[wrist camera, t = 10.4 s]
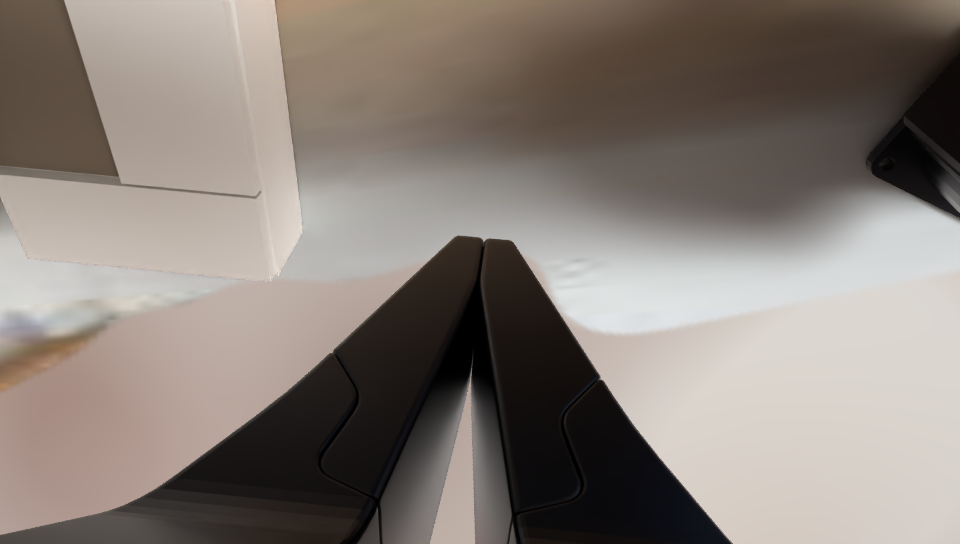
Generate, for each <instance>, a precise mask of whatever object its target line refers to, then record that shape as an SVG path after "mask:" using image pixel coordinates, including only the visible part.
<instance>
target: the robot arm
mask: <svg viewBox="0 0 960 544" xmlns="http://www.w3.org/2000/svg"><path fill="white" fill-rule="evenodd" d="M886 158H890V160H889V162H888V163H887V164H885V165H883V166H879V164H880V163H881V161H883V160H884V159H886ZM866 165H867V168H868V169H869V170H870V172H871V173H872V174H873V175H875V176H876V177H878V178H880V179H882V180H884V181H886V182H888V183H890V184H892V185H894V186H896V187H898V188H900V189H902V190H904V191H906V192H908V193H910V194H912V195H914V196H916V197H918V198H920V199H922V200H924V201H926V202H929V203H931V204H933V205H935V206H937V207H939V208H941V209H943V210H945V211H947V212H949V213H951V214H953V215H955V216H957V217H959V218H960V54H959V55H958V56H957V57H956V58H955V59H954V60H953V61H952V62H951V64H950V65H949V66H948V67H947V68H946V69H945V70H944V71H943V72H942V73H941V74H940V76H939V77H938V78H937V79H936V80H935V81H934V82H933V83H932V84H931V85H930V87H929V88H928V89H927V90H926V91H925V92H924V93H923V94H922V95H921V96H920V98H919V99H918V100H917V101H916V102H915V103H914V104H913V105H912V106H911V107H910V109H909V110H908V111H907V112H906V113H905V115H904V117H903V118H902V119H901V120H900V121H899V122H898V124H897V125H896V126H895V127H894V128H893V129H892V130H891V131H890V132H889V133H888V135H887V136H886V137H885V138H884V139H883V140H882V141H881V142H880V143H879V144H878V145H877V147H876V148H875V149H874V150H873V151H872V152H871V153H870V155H869V156H868V158H867V161H866ZM472 360H473V361H472ZM471 368H472V376H471V415H472V446H473V480H474V514H475V544H733V543H732V542H731V541H730V540H729V539H728V538H727V537H726V536H725V535H724V533H723V532H722V531H721V530H720V529H719V528H718V527H717V525H716V524H715V523H714V522H713V521H712V519H711V518H710V517H709V516H708V515H707V513H706V512H705V511H704V510H703V509H702V507H701V506H700V505H699V504H698V503H697V502H696V500H695V499H694V498H693V497H692V496H691V494H690V493H689V492H688V491H687V490H686V489H685V487H684V486H683V485H682V484H681V483H680V482H679V480H678V479H677V478H676V477H675V476H674V474H673V473H672V472H671V471H670V470H669V469H668V467H667V466H666V465H665V464H664V462H663V461H662V460H661V459H660V458H659V457H658V455H657V454H656V453H655V451H654V450H653V449H652V448H651V446H650V445H649V444H648V443H647V442H646V440H645V439H644V438H643V437H642V435H641V434H640V433H639V431H638V430H637V429H636V428H635V426H634V425H633V424H632V422H631V421H630V420H629V418H628V416H627V415H626V414H625V412H624V411H623V409H622V408H621V406H620V405H619V404H618V402H617V401H616V399H615V398H614V396H613V395H612V393H611V392H610V390H609V389H608V387H607V385H606V384H605V382H604V381H603V380H601V377H600V375H599V373H598V372H597V370H596V369H595V367H594V366H593V364H592V363H591V361H590V360H589V358H588V357H587V355H586V353H585V352H584V350H583V349H582V347H581V346H580V344H579V343H578V341H577V340H576V338H575V337H574V335H573V333H572V332H571V330H570V329H569V327H568V326H567V325H566V323H565V321H564V320H563V318H562V317H561V315H560V314H559V312H558V310H557V309H556V307H555V306H554V304H553V303H552V301H551V300H550V298H549V297H548V295H547V294H546V292H545V290H544V289H543V287H542V286H541V284H540V283H539V281H538V280H537V278H536V277H535V275H534V274H533V272H532V270H531V269H530V267H529V266H528V264H527V263H526V261H525V260H524V259H523V257H522V255H521V254H520V252H519V251H518V249H517V247H516V246H515V244H514V243H513V242H512V241H510V240H500V239H486V240H485V242H484V241H483V240H482V239H481V238H479V237H468V236H456V237H454V238H453V239H452V240H451V241H450V242H449V243H448V244H447V245H446V246H445V247H444V248H442V249H441V250H440V251H439V252H438V253H437V254H436V255H435V256H434V257H433V258H432V259H431V260H430V261H429V262H427V263H426V264H425V265H424V266H423V267H422V268H421V269H420V270H419V271H418V272H417V273H416V274H415V275H413V277H412V278H410V279H409V280H408V281H407V282H406V283H405V284H404V285H403V286H402V287H401V288H400V289H399V290H397V291H396V292H395V293H394V294H393V295H392V296H391V297H390V298H389V299H388V300H387V301H386V302H385V303H383V304H382V305H381V306H380V307H379V308H378V309H377V310H376V311H375V312H374V313H373V314H372V315H371V316H370V317H368V318H367V319H366V320H365V321H364V322H363V323H362V324H361V325H360V326H359V327H358V328H357V329H356V330H355V331H354V332H352V333H351V334H350V335H349V336H348V337H347V338H346V339H345V340H344V341H343V342H342V343H341V344H339V345H338V346H337V347H336V348H335V349H334V351H333V353H330V354H328V355H327V356H326V357H325V358H324V359H323V360H322V361H321V362H320V363H319V364H318V365H317V366H316V367H315V368H313V369H312V370H311V371H310V372H309V373H308V374H306V375H305V377H303V378H302V379H301V380H300V381H299V382H297V384H295V385H294V386H293V387H292V388H290V389H289V390H288V391H287V392H286V393H285V394H283V395H282V396H281V397H279V398H278V399H277V400H275V401H274V402H273V403H272V404H270V405H269V406H268V407H267V408H265V409H264V410H263V411H261V412H260V413H259V414H257V415H256V416H255V417H254V418H252V419H251V420H249V421H248V422H247V423H246V424H244V425H243V426H241V427H240V428H239V429H237V430H236V431H235V432H233V433H232V434H230V435H229V436H228V437H226V438H225V439H224V440H222V441H221V442H220V443H218V444H217V445H216V446H214V447H213V448H212V449H210V450H209V451H207V452H206V453H205V454H203V455H202V456H201V457H199V458H198V459H197V460H195V461H194V462H192V463H191V464H190V465H189V466H187V467H186V468H184V469H183V470H182V471H180V472H179V473H178V474H176V475H175V476H173V477H172V478H171V479H169V480H168V481H166V482H165V483H163V484H162V485H160V486H159V487H157V488H156V489H154V490H153V491H151V492H149V493H148V494H146V495H144V496H142V497H140V498H138V499H136V500H134V501H132V502H130V503H128V504H126V505H123V506H121V507H118V508H115V509H112V510H109V511H106V512H102V513H99V514H94V515H90V516H86V517H81V518H76V519H72V520H67V521H62V522H58V523H53V524H49V525H44V526H40V527H35V528H31V529H26V530H21V531H17V532H12V533H8V534H3V535H0V544H430V540H431V536H432V532H433V528H434V524H435V520H436V515H437V512H438V507H439V504H440V500H441V496H442V492H443V488H444V484H445V480H446V476H447V472H448V468H449V464H450V460H451V456H452V452H453V448H454V444H455V440H456V436H457V432H458V427H459V424H460V420H461V416H462V411H463V408H464V404H465V399H466V396H467V391H468V387H469V382H470V375H471Z"/></svg>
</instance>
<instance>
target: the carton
mask: <svg viewBox="0 0 960 544" xmlns="http://www.w3.org/2000/svg"><path fill="white" fill-rule="evenodd" d="M0 198H1V200H2V202H3V205H4V207H5V209H6V211H7V214H8V216H9V218H10V220H11V222H12V225H13V227H14V229H15V231H16V234H17V236H18V238H19V240H20V243H21V245H22V247H23V249H24V251H25V254H26V256H27V258H29V259H39V260H49V261H60V262H70V263H80V264H90V265H100V266H111V267H121V268H131V269H141V270H151V271H162V272H172V273H182V274H192V275H202V276H212V277H223V278H233V279H243V280H253V281H263V282H271V281H272V279H273V277H274V276H279V274H280V272H281V271H282V269H283V267H284V265H285V263H286V262H287V260H288V258H289V256H290V254H291V253H292V251H293V249H294V247H295V245H296V244H297V242H298V240H299V238H300V236H301V234H302V233H303V225H302V217H301V209H300V201H299V193H298V185H297V177H296V169H295V160H294V152H293V144H292V136H291V128H290V120H289V112H288V104H287V96H286V88H285V80H284V72H283V64H282V55H281V47H280V39H279V31H278V23H277V15H276V7H275V0H0Z"/></svg>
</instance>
